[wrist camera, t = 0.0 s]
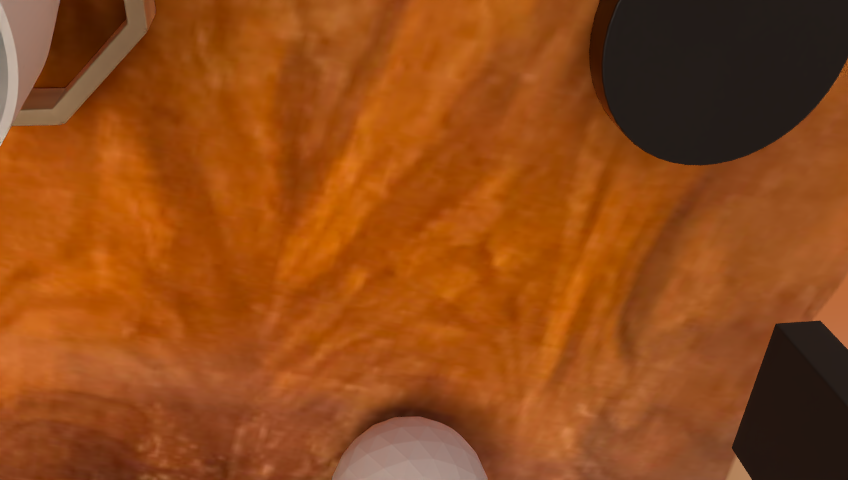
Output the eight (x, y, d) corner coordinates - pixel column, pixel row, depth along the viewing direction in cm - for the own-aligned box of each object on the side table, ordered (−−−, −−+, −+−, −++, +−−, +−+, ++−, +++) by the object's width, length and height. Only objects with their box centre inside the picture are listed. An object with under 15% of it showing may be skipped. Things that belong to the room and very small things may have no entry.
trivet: (612, -112, 26) (629, -105, 25) (875, -105, 28) (902, -99, 27) (571, 153, 32) (583, 170, 30) (794, 146, 33) (813, 162, 32)
